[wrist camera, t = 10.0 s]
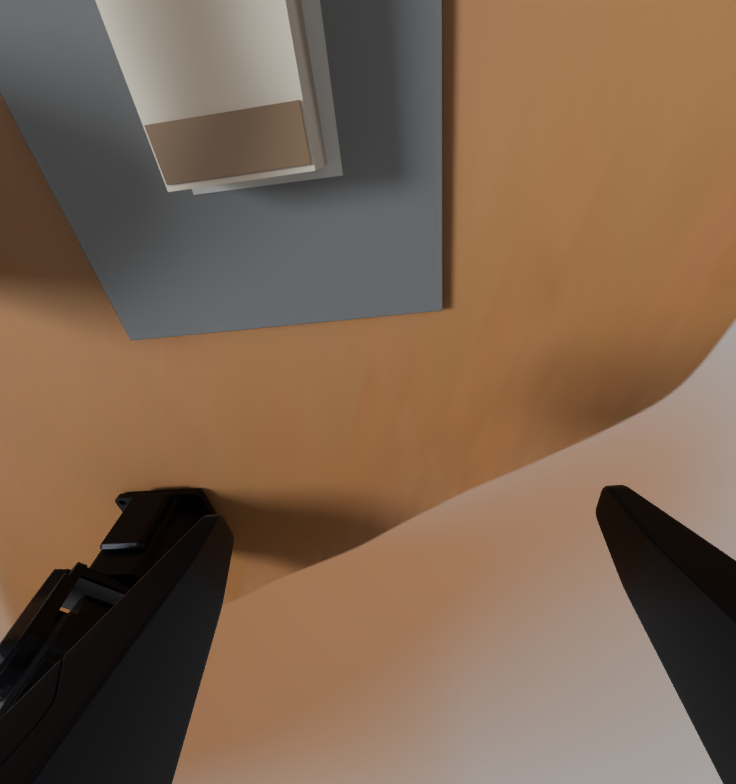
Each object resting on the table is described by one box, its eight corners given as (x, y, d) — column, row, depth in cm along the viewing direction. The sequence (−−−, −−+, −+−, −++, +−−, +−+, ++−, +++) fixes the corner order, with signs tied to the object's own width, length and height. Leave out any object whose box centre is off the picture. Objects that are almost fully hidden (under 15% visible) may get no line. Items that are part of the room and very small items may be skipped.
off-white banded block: (272, -181, 10) (231, -299, 7) (327, 164, 14) (315, 171, 12) (100, -141, 10) (2, -237, 8) (205, 182, 15) (166, 192, 12)
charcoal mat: (440, 306, 18) (442, 311, 18) (135, 336, 20) (129, 341, 19) (438, -231, 10) (442, -252, 9) (-95, -113, 11) (-117, -124, 11)
